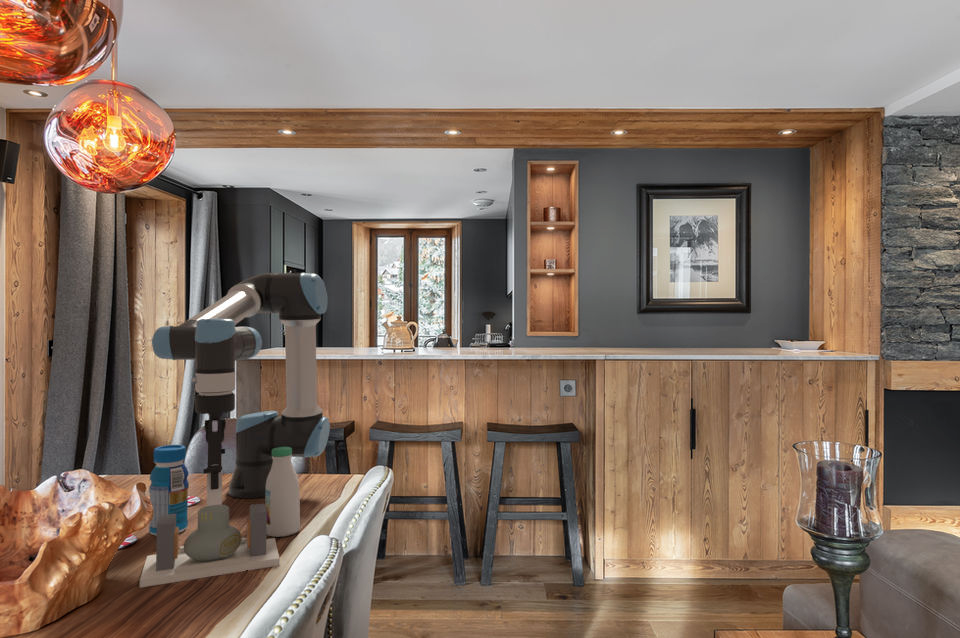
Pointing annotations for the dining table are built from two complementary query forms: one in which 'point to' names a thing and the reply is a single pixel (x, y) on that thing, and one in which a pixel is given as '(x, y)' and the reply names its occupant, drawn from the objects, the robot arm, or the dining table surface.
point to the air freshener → (212, 535)
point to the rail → (181, 567)
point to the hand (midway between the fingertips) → (214, 494)
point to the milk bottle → (282, 495)
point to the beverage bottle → (169, 486)
